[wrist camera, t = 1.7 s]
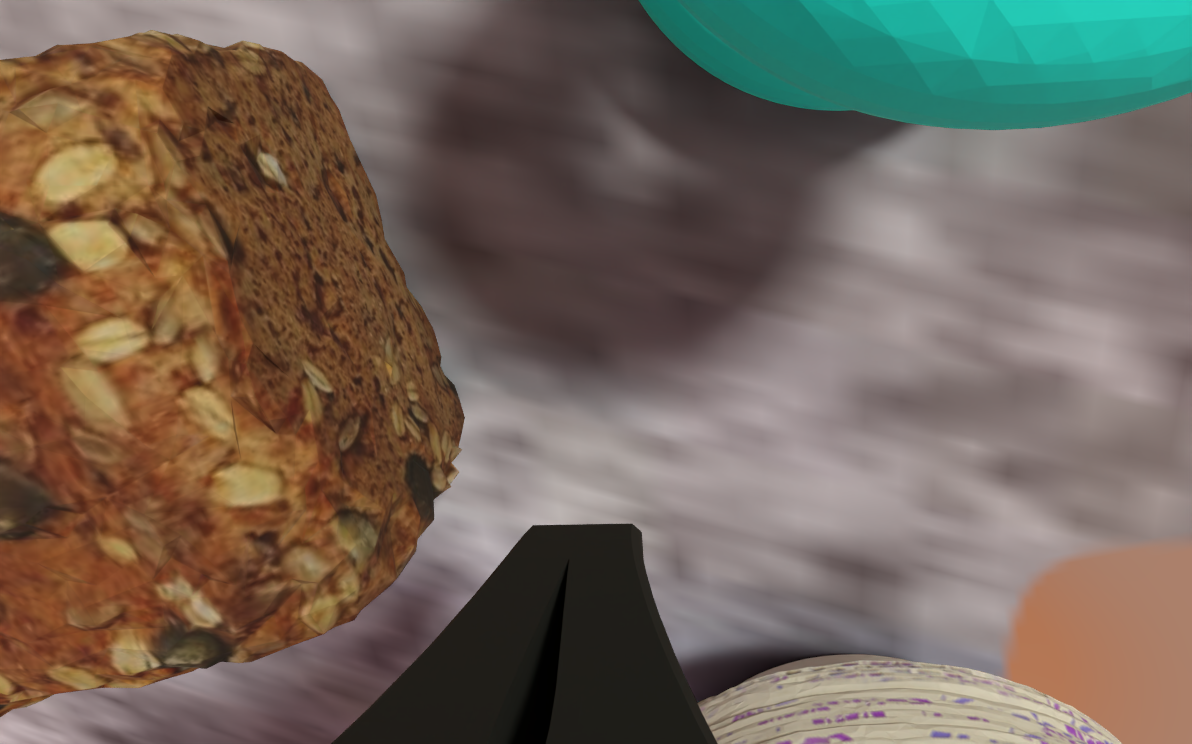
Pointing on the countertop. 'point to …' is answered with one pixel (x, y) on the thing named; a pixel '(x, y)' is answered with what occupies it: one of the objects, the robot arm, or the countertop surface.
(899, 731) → the paper bowls
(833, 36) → the donuts
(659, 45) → the countertop surface
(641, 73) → the countertop surface
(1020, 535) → the countertop surface
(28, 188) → the bread
